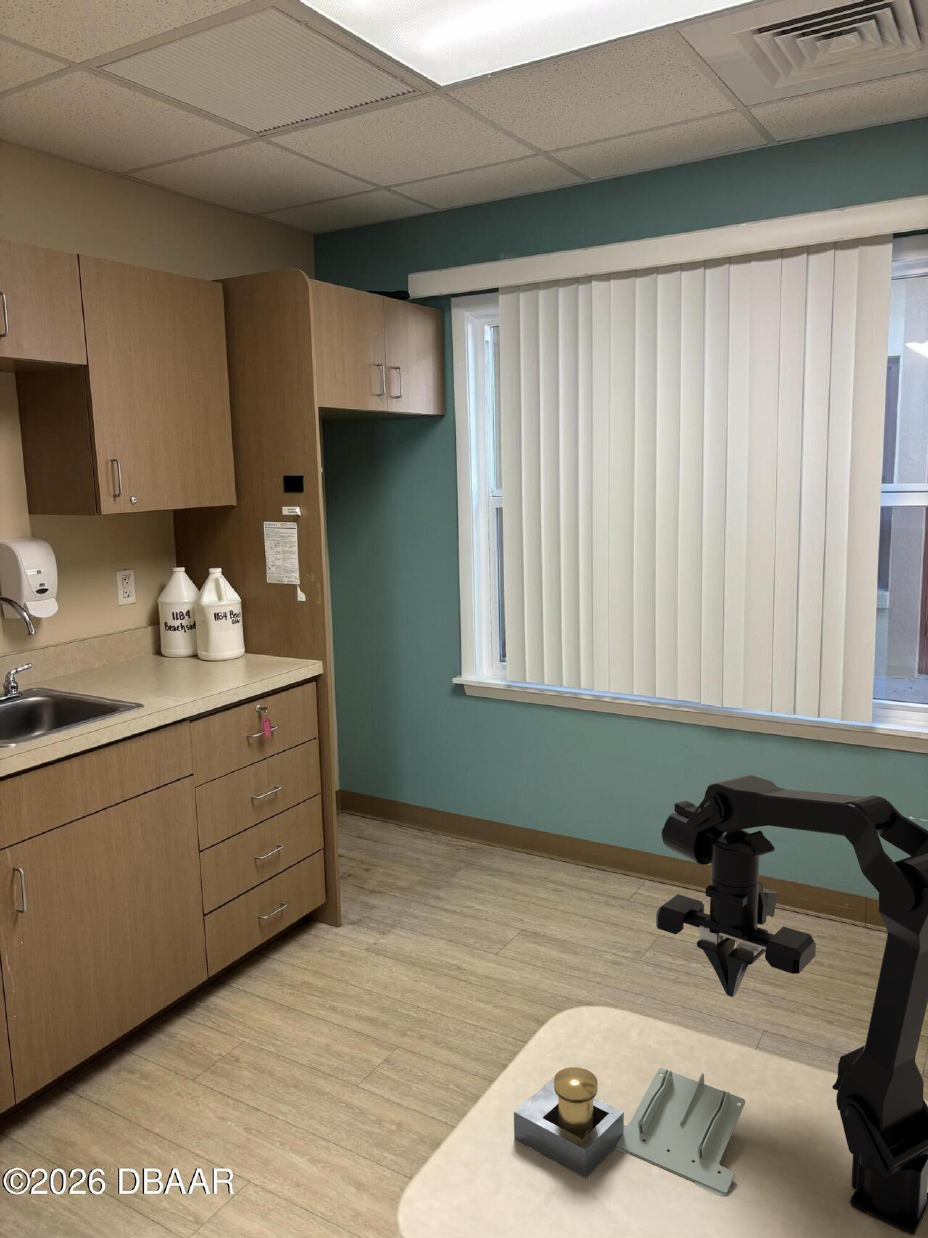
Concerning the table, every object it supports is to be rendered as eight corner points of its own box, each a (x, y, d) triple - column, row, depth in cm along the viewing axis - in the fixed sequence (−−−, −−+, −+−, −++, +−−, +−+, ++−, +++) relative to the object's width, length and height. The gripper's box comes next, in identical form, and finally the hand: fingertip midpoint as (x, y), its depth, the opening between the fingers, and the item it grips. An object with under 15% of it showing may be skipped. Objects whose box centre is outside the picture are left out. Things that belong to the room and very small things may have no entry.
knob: (605, 1141, 111) (605, 1078, 109) (581, 1165, 107) (581, 1101, 106) (570, 1122, 114) (570, 1062, 113) (545, 1145, 110) (545, 1082, 109)
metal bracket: (645, 1046, 120) (763, 1089, 111) (651, 1080, 122) (767, 1124, 113) (594, 1138, 109) (720, 1193, 100) (601, 1173, 111) (725, 1230, 103)
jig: (623, 1139, 111) (623, 1112, 110) (585, 1178, 105) (585, 1150, 104) (553, 1103, 117) (553, 1078, 117) (514, 1138, 111) (513, 1112, 111)
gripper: (834, 875, 116) (829, 993, 119) (695, 839, 128) (693, 946, 131) (799, 908, 108) (795, 1034, 111) (654, 866, 120) (653, 980, 123)
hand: (731, 995), depth 119 cm, fingers closed
